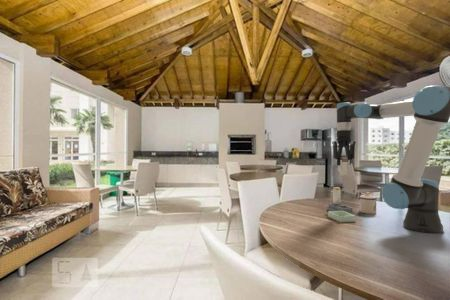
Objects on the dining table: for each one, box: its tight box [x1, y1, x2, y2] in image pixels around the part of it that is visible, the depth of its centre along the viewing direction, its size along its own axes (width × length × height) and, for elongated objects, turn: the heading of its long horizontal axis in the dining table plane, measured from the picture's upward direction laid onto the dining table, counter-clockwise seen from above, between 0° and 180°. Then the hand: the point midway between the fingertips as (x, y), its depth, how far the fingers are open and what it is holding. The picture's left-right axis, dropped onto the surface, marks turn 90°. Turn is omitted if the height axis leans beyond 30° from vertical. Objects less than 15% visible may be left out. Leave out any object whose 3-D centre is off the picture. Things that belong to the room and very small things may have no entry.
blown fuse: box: [339, 155, 349, 178], centre depth 155 cm, size 4×4×12 cm
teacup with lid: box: [359, 191, 377, 215], centre depth 160 cm, size 12×9×12 cm
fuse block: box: [326, 202, 355, 215], centre depth 158 cm, size 14×8×4 cm, turn 9°
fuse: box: [332, 186, 341, 205], centre depth 162 cm, size 4×4×12 cm
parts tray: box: [327, 210, 357, 223], centre depth 143 cm, size 11×9×3 cm
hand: (343, 171), depth 155 cm, fingers closed on blown fuse, 4 cm apart
